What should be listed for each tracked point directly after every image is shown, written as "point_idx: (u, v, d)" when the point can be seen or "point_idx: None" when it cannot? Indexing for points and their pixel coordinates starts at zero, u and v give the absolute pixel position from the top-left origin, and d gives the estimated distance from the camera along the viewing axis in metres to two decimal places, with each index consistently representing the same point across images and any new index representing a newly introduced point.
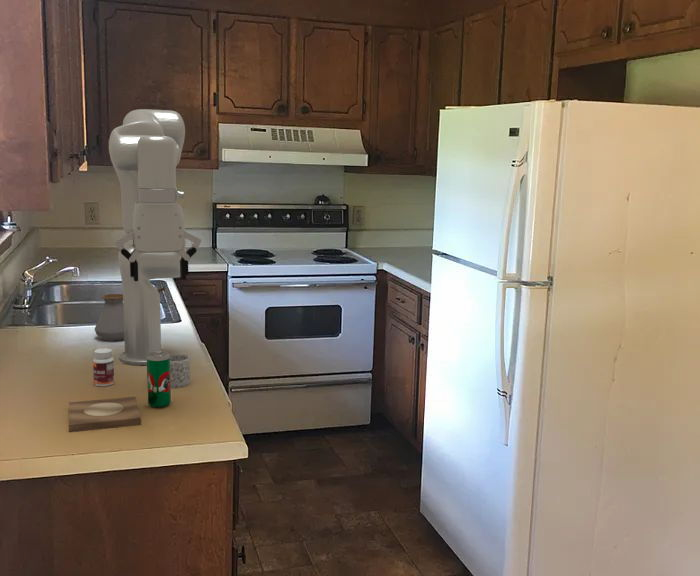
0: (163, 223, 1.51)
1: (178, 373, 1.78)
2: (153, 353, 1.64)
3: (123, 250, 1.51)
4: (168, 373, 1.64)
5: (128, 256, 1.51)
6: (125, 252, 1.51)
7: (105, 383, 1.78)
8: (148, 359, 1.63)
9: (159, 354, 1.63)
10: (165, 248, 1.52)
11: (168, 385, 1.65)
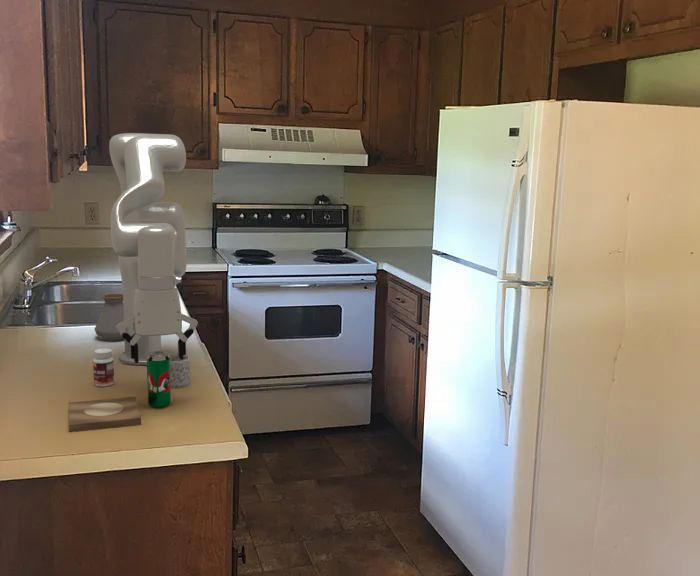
0: (162, 308, 1.60)
1: (178, 373, 1.78)
2: (153, 353, 1.64)
3: (124, 334, 1.59)
4: (168, 373, 1.64)
5: (129, 339, 1.60)
6: (126, 336, 1.60)
7: (105, 383, 1.78)
8: (148, 359, 1.63)
9: (159, 354, 1.63)
10: (164, 331, 1.61)
11: (168, 385, 1.65)
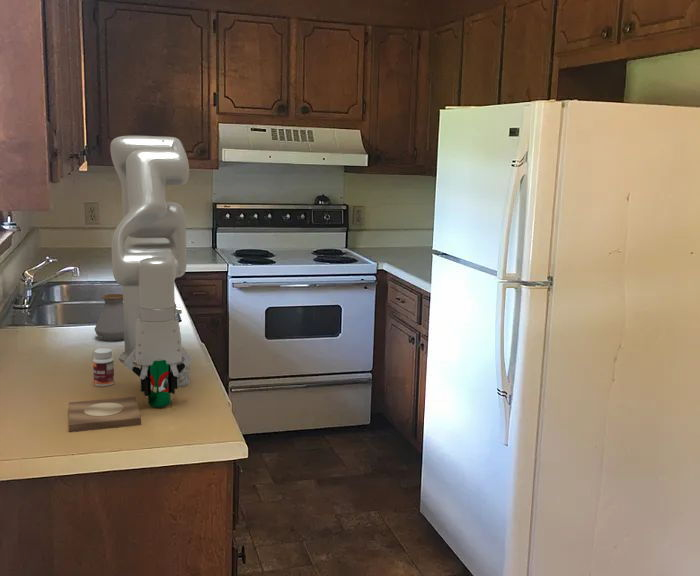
0: (162, 339, 1.61)
1: None
2: None
3: (134, 368, 1.62)
4: (168, 373, 1.64)
5: (139, 373, 1.63)
6: (136, 370, 1.62)
7: (105, 383, 1.78)
8: None
9: None
10: None
11: (168, 385, 1.65)
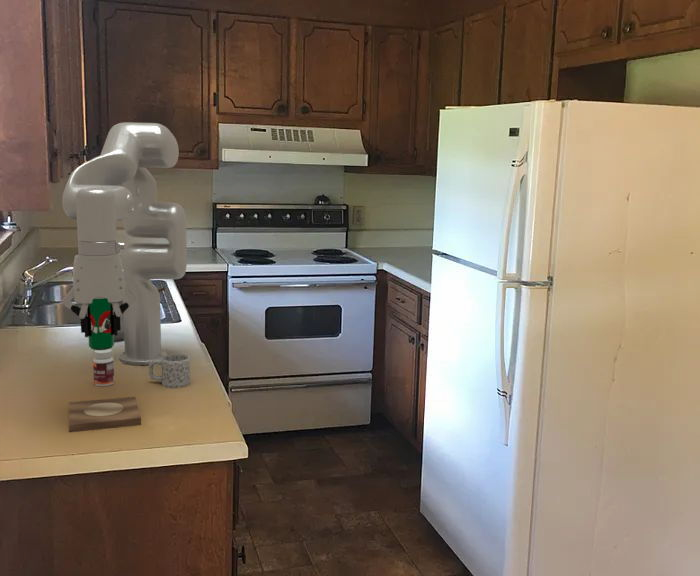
0: (103, 275, 1.51)
1: (178, 373, 1.78)
2: None
3: (73, 307, 1.51)
4: (110, 313, 1.53)
5: (78, 312, 1.52)
6: (75, 309, 1.52)
7: (105, 383, 1.78)
8: None
9: None
10: None
11: (110, 326, 1.54)
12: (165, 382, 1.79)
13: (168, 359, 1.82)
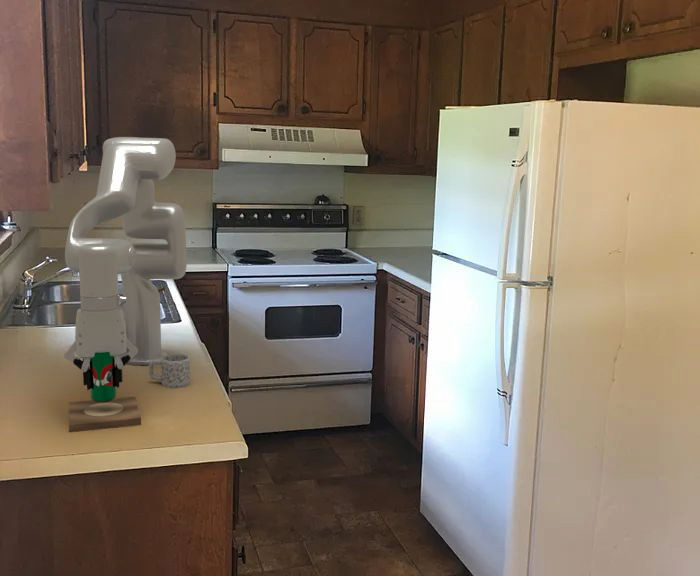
0: (105, 329, 1.53)
1: (178, 373, 1.78)
2: None
3: (75, 360, 1.54)
4: (112, 366, 1.56)
5: (80, 366, 1.54)
6: (77, 362, 1.54)
7: None
8: None
9: None
10: None
11: (112, 378, 1.56)
12: (165, 382, 1.79)
13: (168, 359, 1.82)
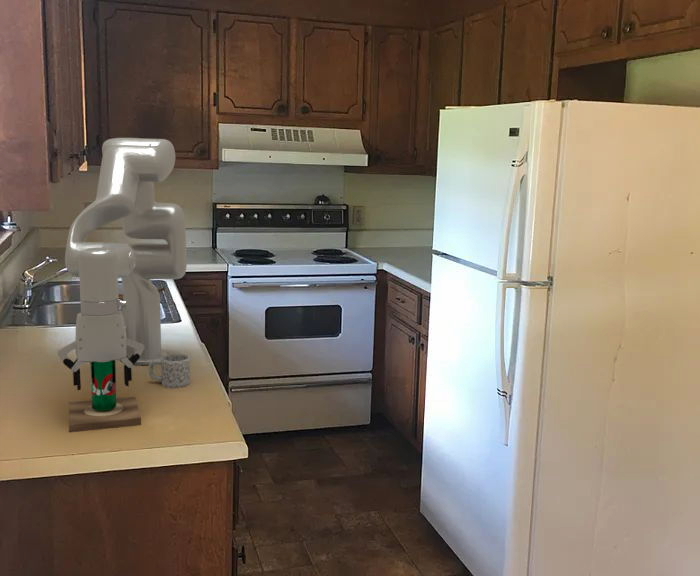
0: (105, 334, 1.53)
1: (178, 373, 1.78)
2: None
3: (65, 360, 1.53)
4: (113, 375, 1.56)
5: (70, 366, 1.53)
6: (67, 362, 1.53)
7: None
8: None
9: None
10: (107, 357, 1.54)
11: (113, 388, 1.57)
12: (165, 382, 1.79)
13: (168, 359, 1.82)
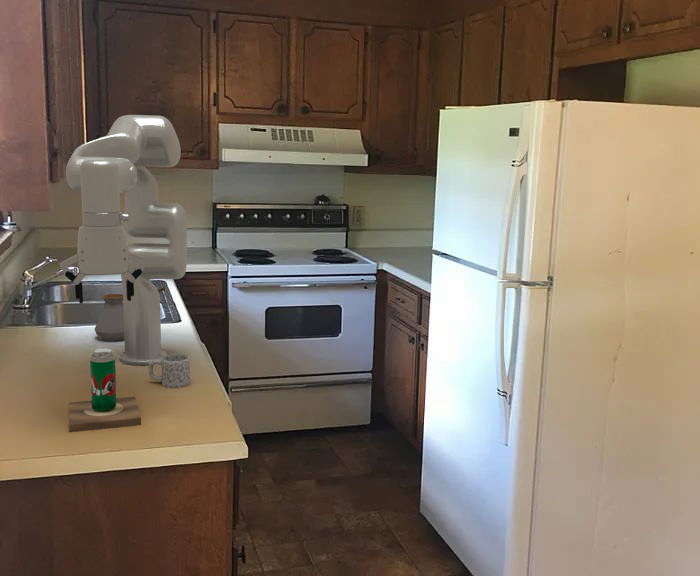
0: (107, 246, 1.52)
1: (178, 373, 1.78)
2: (97, 354, 1.56)
3: (67, 273, 1.52)
4: (113, 375, 1.56)
5: (72, 279, 1.53)
6: (69, 275, 1.52)
7: None
8: (91, 360, 1.55)
9: (103, 355, 1.55)
10: (109, 271, 1.54)
11: (112, 388, 1.56)
12: (165, 382, 1.79)
13: (168, 359, 1.82)
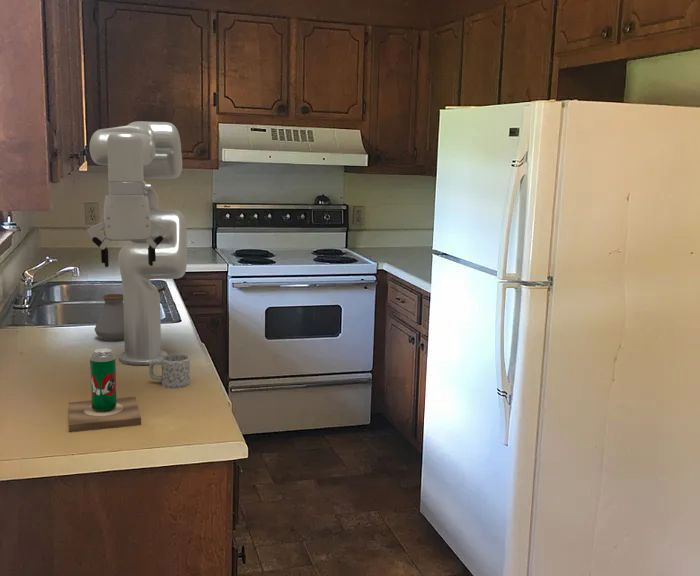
0: (131, 213, 1.64)
1: (178, 373, 1.78)
2: (97, 354, 1.56)
3: (94, 238, 1.64)
4: (113, 375, 1.56)
5: (99, 244, 1.64)
6: (96, 240, 1.64)
7: None
8: (91, 360, 1.55)
9: (103, 355, 1.56)
10: (133, 236, 1.65)
11: (112, 388, 1.57)
12: (165, 382, 1.79)
13: (168, 359, 1.82)
